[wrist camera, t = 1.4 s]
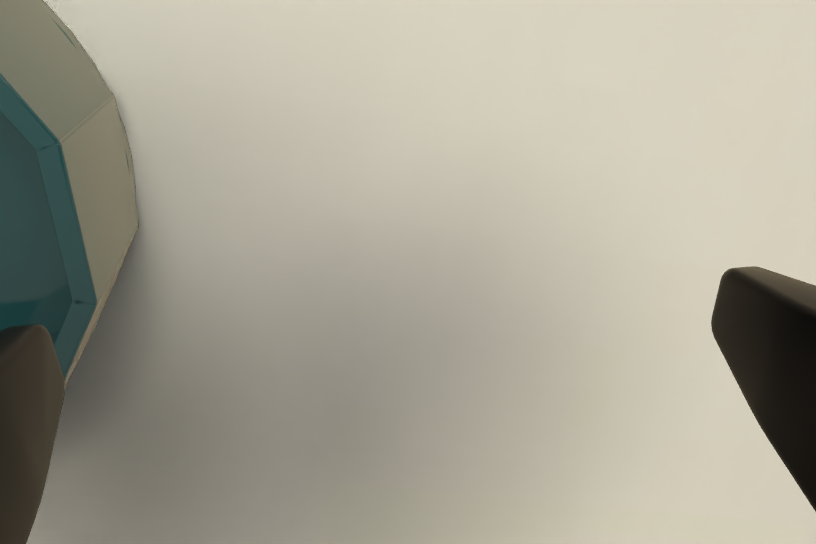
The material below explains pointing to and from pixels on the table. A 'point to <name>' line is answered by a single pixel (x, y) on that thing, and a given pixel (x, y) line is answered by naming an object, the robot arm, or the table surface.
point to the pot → (58, 181)
